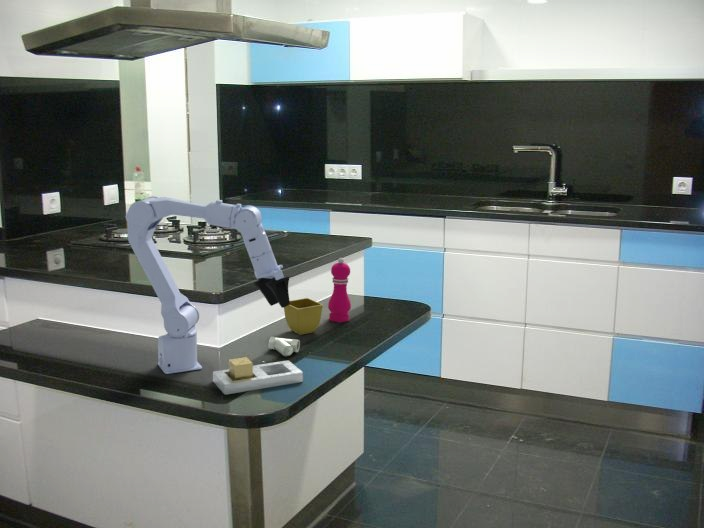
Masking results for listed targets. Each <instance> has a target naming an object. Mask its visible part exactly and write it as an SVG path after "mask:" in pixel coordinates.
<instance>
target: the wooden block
mask: <svg viewBox="0 0 704 528" xmlns="http://www.w3.org/2000/svg"><path fill="white" fill-rule="evenodd" d="M253 366H254V362H252V360H250V359H249V358H248V357H247V356H244V357H243V356H242V357H237V358H230V359H228V369H229V378H230V379H231V380H232V381H236V380H243V379H249V378H253Z"/></svg>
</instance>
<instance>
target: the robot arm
mask: <svg viewBox="0 0 704 528" xmlns="http://www.w3.org/2000/svg"><path fill="white" fill-rule="evenodd" d="M172 215H173V216H181V217H189V218H198V219H203V220H204V221H205V222H206V223H207V224H208V225H209V226H216V227H222V228H227V229H235V230H236V231H237V232H239V233H240V234H241V237H242V239H243V240H242V241H243V243H244V246H245V249H246V251H247V254H248V257H249V260H250V261H251V265H252V267H253V270H254V272H253V273H254V276H255V278H256V279H258V280H256V281H254V282H253V285H254V286H255V287H256V288H257V289H258V290H259V291H260V292H261V293H262V295H263V296H264V298H265V300H266V302H267V303H268V305H270V306H271V307H272V306H274V305H276V304H279V306H280V307H281V309H282V308H283V309H284V307H286V306H288V305H290V301H291V300H290V296H289V295H290V294H289V281H290V275H285V276H284V273H283V270H282V269H284V266H283V264H279V265H278V262H277V260H276V258H275V255H274V252H273V249H272V246H271V244H270V241H269V238H268V236H267V233H266V231H265V228H264V225H263V223H262V220H263V216H262V212H261V210H260V209H259V208H258V207H256V206H253V205H251V204H247V205H245V206H243V207H242V204H241V203H236V204H230V203H224V202H223V200H222V199H216V200H215V201H210V202H209V203H208V204H207V205H206V204H201V203H195V202H191V201H187V200H181V199H176V198H171V197H166V196H161V197H158V196H149V197H147V198H144V199H142V200H138V201H134V202H133V203H132V204H131V205H129V208H128V210H127V212H126V214H125V219H126V221H127V240H128V244H129V245H130V247H131V248H132V251H133V253H134V255H135V256H136V258H137V260H138V261H139V262H138V263H139V264H140V265H141V267H142V269H143V271H144V273H145V275H146V277H147V280H148V281H149V283H150V285H151V286H152V287H151V288H152V289H153V290H154V293H155V294H156V296H157V298H158V300H159V301H160V303H161V304H160V305H161V306H160V314H161V316H162V319H163V326H164V327H163V328H164V330H165V332H166V334H164V335H159V336H158V339H157V356H158V357H157V358H158V362H157V365H158V366H159V368H160V370H162V372H163V374H165V375H169V374H176V373H183V372H190V371H197V370H202V369H203V366H202V365H201V364H200V362H198V344H197V343H198V340H197V339H198V337H197V333H198V332H197V329H196V325H197V323H198V322H199V319H200V312H199V309H198V308H197V307H196V306H195V305H193V304H192V303H191V302H190V300H189V298H188V297H187V296H185V295H184V294H183V293H181V292H180V290H179V287H178V285H177V284H176V282H175V280H174V278H173V276H172V274H171V272H170V270H169V269H168V265H167V264H166V263H165V260H164V259H163V257H162V255H161V253H160V251H159V249H158V248H157V247H158V246H157V245H156V243H155V242H154V240H153V237H154V233H155V230H156V228H157V226H158V225H159V223H161V221H162V220H163V219H164V218H166V217H169V216H172Z"/></svg>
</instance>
